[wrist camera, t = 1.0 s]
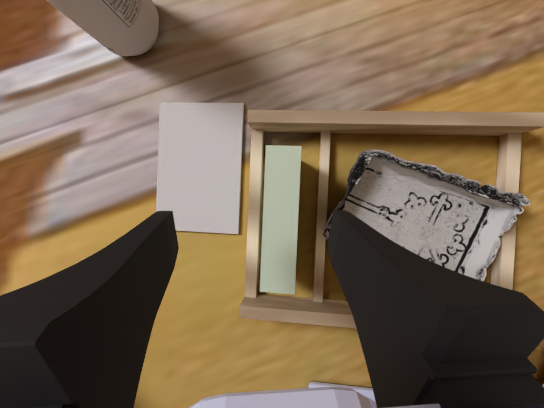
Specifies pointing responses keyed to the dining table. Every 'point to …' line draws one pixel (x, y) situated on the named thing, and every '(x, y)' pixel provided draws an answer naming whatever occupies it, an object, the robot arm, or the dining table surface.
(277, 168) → the pale green block
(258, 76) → the dining table surface
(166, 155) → the light gray panel
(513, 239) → the birch rack
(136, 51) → the energy drink can
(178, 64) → the dining table surface
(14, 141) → the dining table surface
